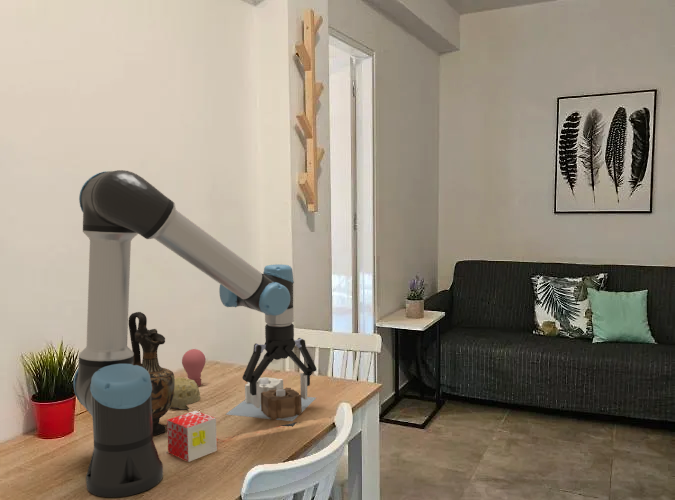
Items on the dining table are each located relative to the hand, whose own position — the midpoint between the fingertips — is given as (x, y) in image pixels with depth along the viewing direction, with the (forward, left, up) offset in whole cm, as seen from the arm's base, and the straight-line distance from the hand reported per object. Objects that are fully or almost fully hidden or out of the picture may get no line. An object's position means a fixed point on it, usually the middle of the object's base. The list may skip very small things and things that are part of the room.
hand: (280, 402), depth 165 cm
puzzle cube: (-26, +12, -4) cm, 29 cm away
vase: (-17, +29, -4) cm, 34 cm away
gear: (+8, +8, -3) cm, 12 cm away
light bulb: (+17, +36, -4) cm, 40 cm away
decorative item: (+2, +31, -4) cm, 31 cm away
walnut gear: (0, 0, -3) cm, 3 cm away
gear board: (+4, +4, -4) cm, 7 cm away
